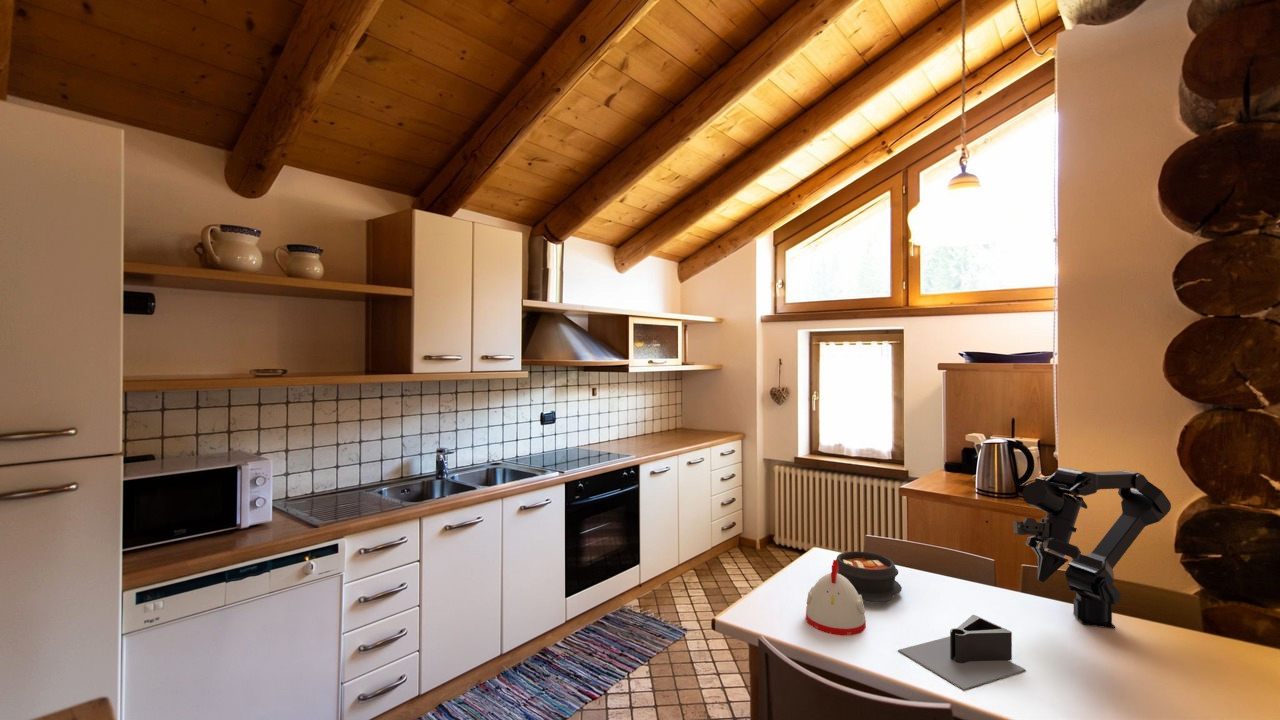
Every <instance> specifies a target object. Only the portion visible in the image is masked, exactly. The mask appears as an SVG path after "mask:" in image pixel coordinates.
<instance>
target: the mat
mask: <svg viewBox="0 0 1280 720" xmlns="http://www.w3.org/2000/svg"><path fill="white" fill-rule="evenodd" d="M897 652H899V653H901V654H902V655H904V656H905V657H907V658H909V659H911V660H913V661H914V662H915V663H918V664H919V665H921V666H922V667H923V668H925V669H928V670H929V671H931V672H932V673H934V674H936V675H938V677H941V678H943V679H944V680H946V681H947V682H949V683H951V684H952V685H954V686H956V687H958V688H959V689H960V690H962V691H967V690H969V689H972V688H973V689H974V688H976V687H980V686H982V685H985V684H989V683H991V682H994V681H998V680H997V679H999V680H1001V678H1002V679H1004V677H1005V678H1007V677H1011V676H1013V675H1017V674H1020V673H1024V672H1026V670H1027V669H1025V668H1024V667H1021V666H1019V665H1017V664H1016V663H1014V662H1013V661H1011V660H1004V661H969V662H966V663H957V662H955V657H953V660H951V659H950V635H949V636H946V637H942V638H939V639H935V640H931V641H928V642H923V643H919V644H915V645H911V646H907V647H903V648H900V649H898V650H897Z"/></svg>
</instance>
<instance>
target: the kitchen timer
mask: <svg viewBox="0 0 1280 720" xmlns="http://www.w3.org/2000/svg"><path fill="white" fill-rule="evenodd" d="M838 573H839V565H838V563H837V560H836V559H833V561H832V564H831V572H830V573H827V574H825V575H823V576H821V577H820V578H819V579H818V581H816V583H815V584H814V585H813V586H812V587H811V588H810V589H809V591H808V593H807V598H806V607H805V621H806V622H807V624H808V625H809V626H811V627H812V628H814V629H816V630H817V631H820V632H823V633H825V634H830V635H835V636H854V635H858V634H861V633H862V632H864V631H865V629H866V622H867V621H866V615H865V611H866V609H865V606H864V601H863V599H862V596H861V595H858V593H857V591H856V589H855V588H854V586H853V585H852V584H851V583H850V582H849V581H848V580H847V579H846V578H845V577H844V576H842V575H840V574H838Z"/></svg>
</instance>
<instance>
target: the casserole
mask: <svg viewBox="0 0 1280 720" xmlns="http://www.w3.org/2000/svg"><path fill="white" fill-rule="evenodd" d="M835 560H837V563H838V565H839V573H838V574H840V575H842V576H844V577H845V578H846V579H847V580H848V581H849V582H850V583H851V584H852V585H853V586H854V588H855V589H856V591H857V593H858V595H861V596H862V599H863V602H871V603H887V602H889V601H890V600H892V599H893V597H894V596H896V595H898V594H900V593H901V592H902V585H901V584H900V583H899V582H898V581H897V580H896V577H897V576H898V575H899V570H898V569H897V568H896V565H895V562H894V561H893V560H892V559H890V558H889V557H886V556H884V555H881V554H877V553H872V552H868V551H855V550H854V551H845V552H841V553H839V554H837V557H836V559H835Z"/></svg>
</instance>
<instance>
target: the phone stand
mask: <svg viewBox="0 0 1280 720" xmlns="http://www.w3.org/2000/svg"><path fill="white" fill-rule="evenodd" d="M1012 635H1013V633H1012V631H1011V630H1008V629H1007V628H1004V627H1002V626H1000V625H998V624H996V623H993V622H991V621H989V620H988V619H987V620H986V619H984V618H982V617H980V616H978V615H975V614H972V615H970V616H969V617H968V618H967V619H966V620H965V621H964V622H962V623H961V624H960V625H959V626H957V627H956V628H955V627H954V628H951V629H950V630H949V636H950V659H951V660H953V657H955V662H957V663H966V662H969V661H1004V660H1008V661H1012V660H1013V644H1012V643H1013V642H1012V641H1013V638H1012Z"/></svg>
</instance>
